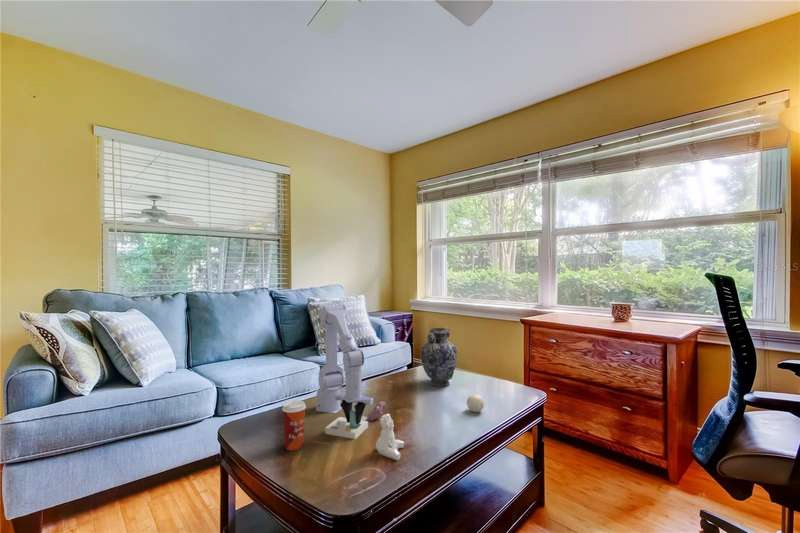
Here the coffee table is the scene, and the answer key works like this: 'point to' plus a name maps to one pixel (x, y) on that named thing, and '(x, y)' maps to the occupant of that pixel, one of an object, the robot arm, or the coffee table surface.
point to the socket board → (345, 428)
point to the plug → (352, 419)
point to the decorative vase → (439, 357)
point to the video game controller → (377, 411)
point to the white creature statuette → (388, 439)
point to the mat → (363, 418)
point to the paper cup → (294, 424)
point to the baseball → (475, 403)
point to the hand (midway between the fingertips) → (353, 422)
